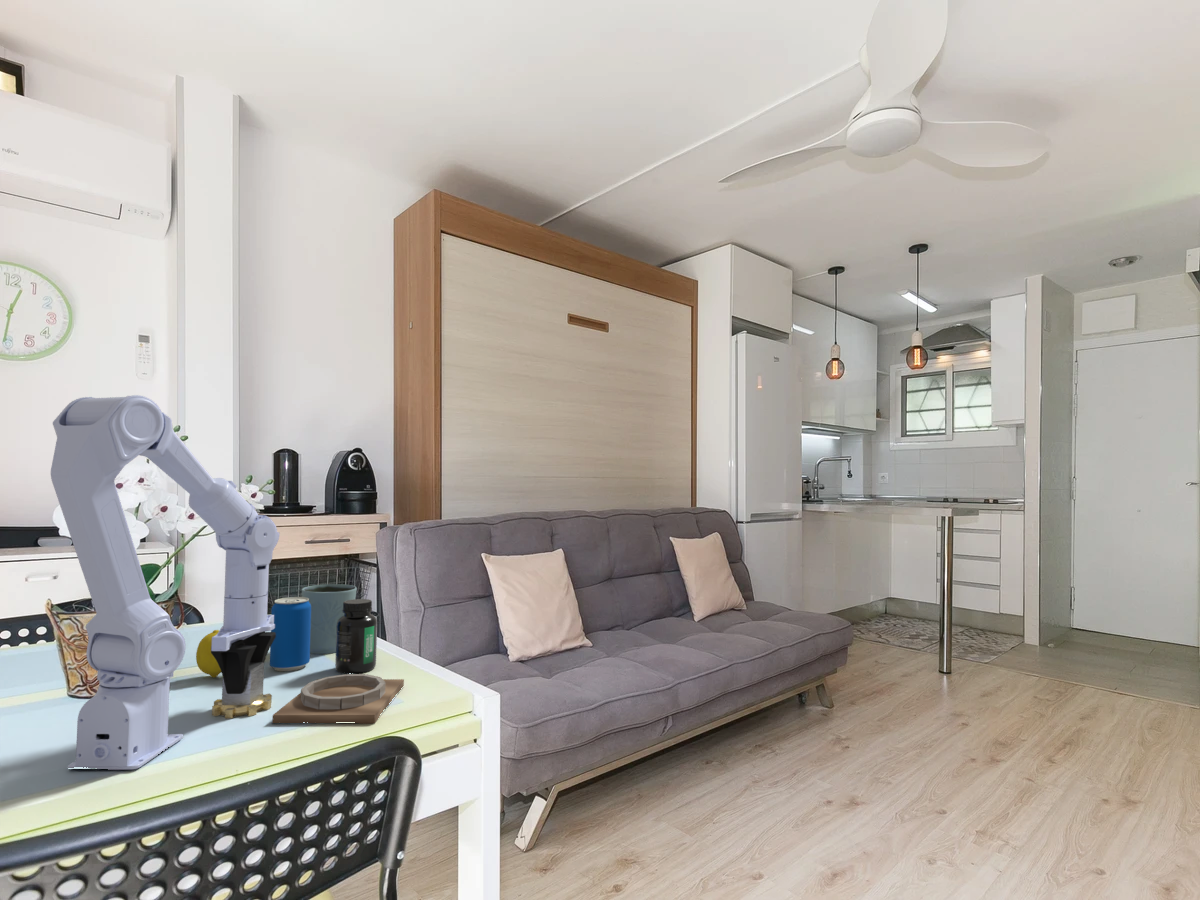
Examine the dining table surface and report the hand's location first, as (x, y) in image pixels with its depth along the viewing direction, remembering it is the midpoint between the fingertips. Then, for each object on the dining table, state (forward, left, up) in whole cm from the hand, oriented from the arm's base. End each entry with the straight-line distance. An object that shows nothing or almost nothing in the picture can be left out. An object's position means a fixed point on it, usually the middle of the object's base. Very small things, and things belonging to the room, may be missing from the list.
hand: (243, 688), depth 97 cm
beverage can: (+21, +2, -3) cm, 21 cm away
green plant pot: (+34, 0, -3) cm, 34 cm away
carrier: (+2, -14, -3) cm, 14 cm away
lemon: (+15, +12, -3) cm, 19 cm away
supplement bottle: (+20, -10, -3) cm, 23 cm away
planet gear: (0, 0, -3) cm, 3 cm away
